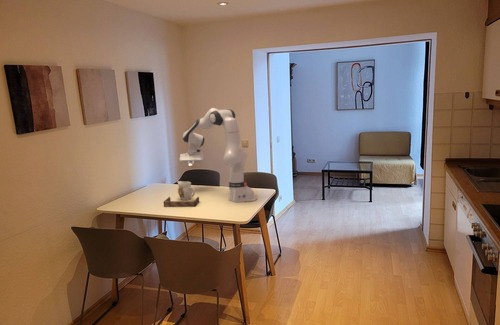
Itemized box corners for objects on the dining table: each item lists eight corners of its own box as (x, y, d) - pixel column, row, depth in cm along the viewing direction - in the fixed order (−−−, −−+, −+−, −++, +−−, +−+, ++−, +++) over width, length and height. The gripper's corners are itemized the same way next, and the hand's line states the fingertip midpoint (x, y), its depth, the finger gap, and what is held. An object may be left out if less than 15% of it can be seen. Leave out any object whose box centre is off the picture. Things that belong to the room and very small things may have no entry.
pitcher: (190, 202, 295) (189, 185, 292) (173, 199, 305) (172, 182, 302) (199, 198, 303) (198, 182, 301) (183, 196, 314) (182, 179, 311)
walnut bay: (199, 201, 296) (199, 196, 295) (195, 206, 283) (194, 201, 282) (169, 201, 299) (168, 196, 298) (163, 206, 286) (163, 201, 285)
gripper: (179, 150, 323) (177, 164, 315) (203, 150, 321) (201, 163, 313) (181, 155, 328) (179, 168, 320) (204, 154, 326) (203, 168, 318)
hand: (190, 166), depth 317 cm, fingers closed
